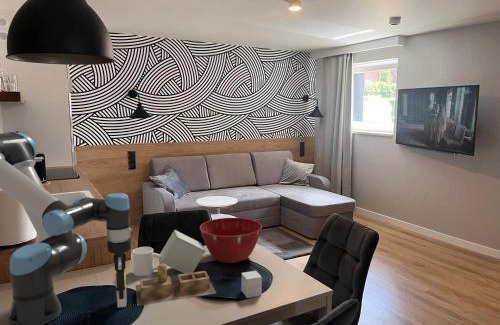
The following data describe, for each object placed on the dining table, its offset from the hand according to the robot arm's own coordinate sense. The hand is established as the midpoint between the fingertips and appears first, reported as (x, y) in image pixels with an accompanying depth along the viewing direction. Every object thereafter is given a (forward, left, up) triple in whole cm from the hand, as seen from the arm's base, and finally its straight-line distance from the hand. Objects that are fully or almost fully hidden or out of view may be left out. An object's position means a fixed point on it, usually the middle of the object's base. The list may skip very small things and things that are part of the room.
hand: (121, 303), depth 129 cm
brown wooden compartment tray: (+19, +5, -1) cm, 20 cm away
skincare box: (+46, -5, -1) cm, 46 cm away
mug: (+10, +24, -1) cm, 26 cm away
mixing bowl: (+48, +30, -1) cm, 57 cm away
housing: (+21, +21, +3) cm, 30 cm away
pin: (0, 0, -1) cm, 1 cm away
